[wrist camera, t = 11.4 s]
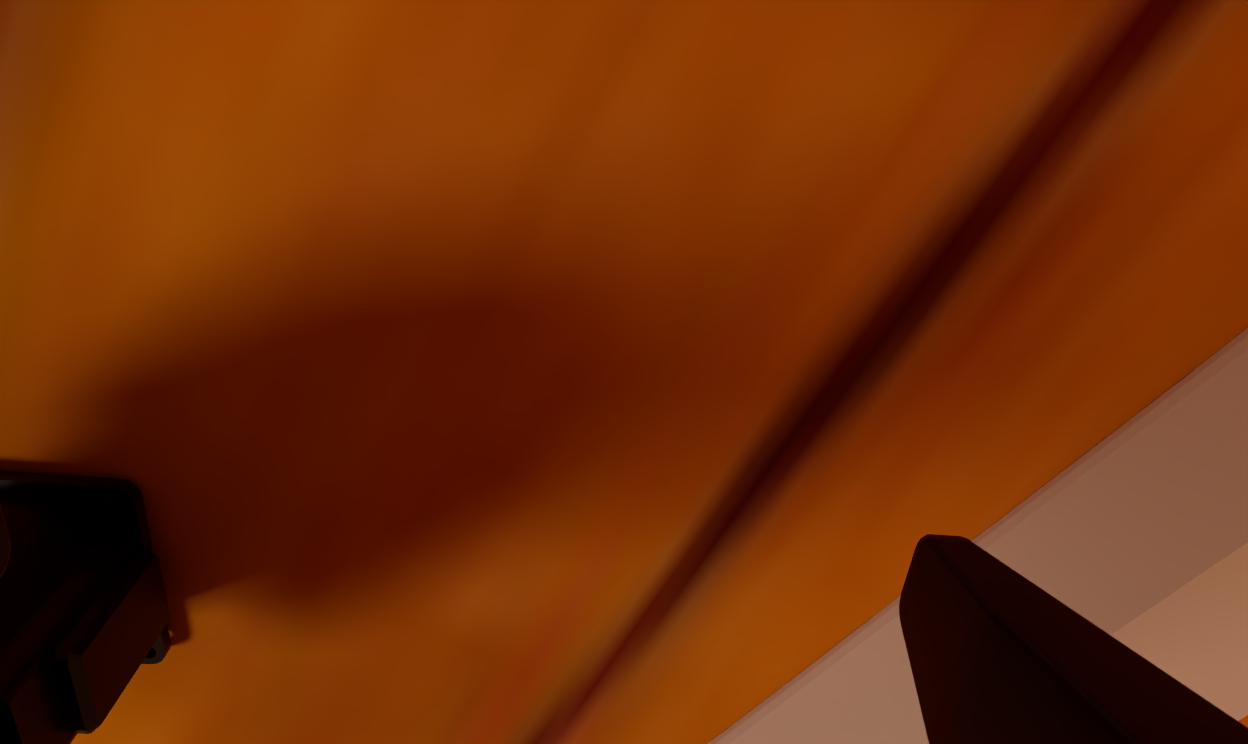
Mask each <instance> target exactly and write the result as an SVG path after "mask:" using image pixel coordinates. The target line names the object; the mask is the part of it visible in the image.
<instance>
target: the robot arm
mask: <svg viewBox="0 0 1248 744" xmlns="http://www.w3.org/2000/svg"><path fill="white" fill-rule="evenodd" d="M115 495H118V496H120V497H122V498H123V499H124V501H121V500H119V499H118V498H116V497H115ZM899 617H900V623H901V627H902V632H903V636H904V640H905V644H906V649H907V653H908V657H909V661H910V666H911V670H912V674H913V678H914V683H915V687H916V691H917V695H918V700H919V704H920V708H921V712H922V717H923V721H924V725H925V729H926V734H927V738H928V742H929V744H1248V728H1247V727H1246V726H1245V725H1243V724H1242V723H1240V722H1239V721H1237V720H1236V719H1234V718H1233V717H1231V716H1230V715H1228V714H1227V713H1225V712H1224V711H1222V710H1221V709H1219V708H1218V707H1216V706H1215V705H1213V704H1212V703H1210V702H1209V701H1207V700H1206V699H1204V698H1203V697H1201V696H1200V695H1198V694H1197V693H1196V692H1194V691H1193V690H1191V689H1190V688H1188V687H1187V686H1185V685H1184V684H1182V683H1181V682H1179V681H1178V680H1176V679H1175V678H1173V677H1172V676H1170V675H1169V674H1167V673H1166V672H1164V671H1163V670H1161V669H1160V668H1158V667H1157V666H1155V665H1154V664H1152V663H1151V662H1150V661H1148V660H1147V659H1145V658H1144V657H1142V656H1141V655H1139V654H1138V653H1136V652H1135V651H1133V650H1132V649H1130V648H1129V647H1127V646H1126V645H1124V644H1123V643H1121V642H1120V641H1118V640H1117V639H1115V638H1114V637H1112V636H1111V635H1109V634H1108V633H1106V632H1105V631H1104V630H1102V629H1101V628H1099V627H1098V626H1096V625H1095V624H1093V623H1092V622H1090V621H1089V620H1087V619H1086V618H1084V617H1083V616H1081V615H1080V614H1078V613H1077V612H1075V611H1074V610H1072V609H1071V608H1069V607H1068V606H1066V605H1065V604H1063V603H1062V602H1060V601H1059V600H1058V599H1056V598H1055V597H1053V596H1052V595H1050V594H1049V593H1047V592H1046V591H1044V590H1043V589H1041V588H1040V587H1038V586H1037V585H1035V584H1034V583H1032V582H1031V581H1029V580H1028V579H1026V578H1025V577H1023V576H1022V575H1020V574H1019V573H1017V572H1016V571H1015V570H1013V569H1012V568H1010V567H1009V566H1007V565H1006V564H1004V563H1003V562H1001V561H1000V560H998V559H997V558H995V557H994V556H992V555H991V554H989V553H988V552H986V551H985V550H983V549H982V548H980V547H979V546H977V545H976V544H975V543H973V542H972V541H970V540H968V539H967V538H964V537H961V536H949V535H933V534H928V535H926V536H924V537H922V538H921V539H920V540H919V542H918V543H917V546H916V548H915V551H914V554H913V557H912V561H911V564H910V567H909V570H908V573H907V577H906V580H905V583H904V586H903V589H902V592H901V596H900V602H899ZM169 619H170V616H169V611H168V606H167V601H166V595H165V590H164V585H163V580H162V575H161V569H160V564H159V559H158V556H157V554H156V553H155V551H154V550H153V549H152V544H151V539H150V534H149V528H148V523H147V518H146V513H145V508H144V503H143V498H142V494H141V492H140V489H139V488H138V487H137V486H136V485H135V484H133V483H131V482H130V481H128V480H123V479H115V478H99V477H84V476H68V475H53V474H37V473H22V472H7V471H0V744H70V743H71V742H72V740H73V739H74V737H75V736H76V735H77V733H84V734H89V733H92V732H93V731H94V730H95V729H96V728H98V727H99V726H100V725H101V724H102V722H103V721H104V719H105V718H106V716H107V715H108V713H109V712H110V710H111V709H112V707H113V706H114V704H115V703H116V701H117V700H118V698H119V697H120V695H121V693H122V692H123V690H124V689H125V687H126V686H127V684H128V683H129V681H130V680H131V678H132V677H133V675H134V674H135V672H136V671H137V669H138V668H139V666H140V665H141V664H156V663H159V662H161V661H162V660H163V658H164V657H165V656H166V654H167V652H168V651H169V649H170V647H171V641H170V636H169V631H168V626H167V623H168V622H169Z"/></svg>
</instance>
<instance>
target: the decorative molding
mask: <svg viewBox="0 0 1248 744" xmlns="http://www.w3.org/2000/svg"><path fill="white" fill-rule="evenodd" d="M972 542H973V543H975V544H976V545H977V546H979V547H980V548H982V549H983V550H985V551H986V552H988V553H989V554H991V555H992V556H994V557H995V558H997V559H998V560H1000V561H1001V562H1003V563H1004V564H1006V565H1007V566H1009V567H1010V568H1012V569H1013V570H1015V571H1016V572H1017V573H1019V574H1020V575H1022V576H1023V577H1025V578H1026V579H1028V580H1029V581H1031V582H1032V583H1034V584H1035V585H1037V586H1038V587H1040V588H1041V589H1043V590H1044V591H1046V592H1047V593H1049V594H1050V595H1052V596H1053V597H1055V598H1056V599H1058V600H1059V601H1060V602H1062V603H1063V604H1065V605H1066V606H1068V607H1069V608H1071V609H1072V610H1074V611H1075V612H1077V613H1078V614H1080V615H1081V616H1083V617H1084V618H1086V619H1087V620H1089V621H1090V622H1092V623H1093V624H1095V625H1096V626H1098V627H1099V628H1101V629H1102V630H1104V631H1105V632H1106V633H1108V634H1109V635H1111V636H1112V637H1114V638H1115V639H1117V640H1118V641H1120V642H1121V643H1123V644H1124V645H1126V646H1127V647H1129V648H1130V649H1132V650H1133V651H1135V652H1136V653H1138V654H1139V655H1141V656H1142V657H1144V658H1145V659H1147V660H1148V661H1150V662H1151V663H1152V664H1154V665H1155V666H1157V667H1158V668H1160V669H1161V670H1163V671H1164V672H1166V673H1167V674H1169V675H1170V676H1172V677H1173V678H1175V679H1176V680H1178V681H1179V682H1181V683H1182V684H1184V685H1185V686H1187V687H1188V688H1190V689H1191V690H1193V691H1194V692H1196V693H1197V694H1198V695H1200V696H1201V697H1203V698H1204V699H1206V700H1207V701H1209V702H1210V703H1212V704H1213V705H1215V706H1216V707H1218V708H1219V709H1221V710H1222V711H1224V712H1225V713H1227V714H1228V715H1230V716H1231V717H1233V718H1234V719H1236V720H1237V721H1239V720H1240V719H1242V718H1243V717H1245V716H1247V715H1248V328H1247V329H1246V330H1244V331H1243V332H1242V333H1241V334H1239V335H1238V336H1237V337H1235V338H1234V339H1233V340H1232V341H1230V342H1229V343H1228V344H1226V345H1225V346H1224V347H1222V348H1221V349H1220V350H1219V351H1217V352H1216V353H1215V354H1213V355H1212V356H1211V357H1210V358H1208V359H1207V360H1206V361H1204V362H1203V363H1202V364H1201V365H1199V366H1198V367H1197V368H1196V369H1194V370H1193V371H1192V372H1191V373H1190V374H1188V375H1187V376H1186V377H1185V378H1183V379H1182V380H1180V381H1179V382H1178V383H1176V384H1175V385H1174V386H1172V387H1171V388H1170V389H1169V390H1167V391H1166V392H1165V393H1163V394H1162V395H1161V396H1159V397H1158V398H1157V399H1156V400H1154V401H1153V402H1152V403H1150V404H1149V405H1148V406H1146V407H1145V408H1144V409H1143V410H1141V411H1140V412H1139V413H1137V414H1136V415H1135V416H1134V417H1132V418H1131V419H1130V420H1128V421H1127V422H1126V423H1124V424H1123V425H1122V426H1121V427H1119V428H1118V429H1117V430H1115V431H1114V432H1113V433H1111V434H1110V435H1109V436H1107V437H1106V438H1105V439H1104V440H1102V441H1101V442H1100V443H1098V444H1097V445H1096V446H1094V447H1093V448H1092V449H1091V450H1089V451H1088V452H1087V453H1085V454H1084V455H1083V456H1081V457H1080V458H1079V459H1078V460H1076V461H1075V462H1074V463H1072V464H1071V465H1070V466H1068V467H1067V468H1066V469H1065V470H1063V471H1062V472H1061V473H1059V474H1058V475H1057V476H1055V477H1054V478H1053V479H1051V480H1050V481H1049V482H1048V483H1046V484H1045V485H1044V486H1042V487H1041V488H1040V489H1038V490H1037V491H1036V492H1035V493H1033V494H1032V495H1031V496H1029V497H1028V498H1027V499H1025V500H1024V501H1023V502H1021V503H1020V504H1019V505H1018V506H1016V507H1015V508H1014V509H1012V510H1011V511H1010V512H1008V513H1007V514H1006V515H1005V516H1003V517H1002V518H1001V519H1000V520H998V521H997V522H996V523H994V524H993V525H991V526H990V527H989V528H987V529H986V530H985V531H983V532H982V533H981V534H980V535H978V536H977V537H976V538H974V539H973V540H972ZM900 596H901V595H900ZM900 596H899V597H897V598H896V599H895V600H894V601H892V602H891V603H890V604H888V605H887V606H886V607H885V608H883V609H882V610H881V611H879V612H878V613H877V614H876V615H874V616H873V617H872V618H871V619H870V620H868V621H867V622H865V623H864V624H863V625H862V626H860V627H859V628H858V629H856V630H855V631H854V632H852V633H851V634H850V635H849V636H847V637H846V638H845V639H843V640H842V641H841V642H839V643H838V644H837V645H836V646H834V647H833V648H832V649H830V650H829V651H828V652H827V653H825V654H824V655H823V656H821V657H820V658H819V659H817V660H816V661H815V662H814V663H812V664H811V665H810V666H808V667H807V668H806V669H804V670H803V671H802V672H801V673H799V674H798V675H797V676H795V677H794V678H793V679H791V680H790V681H789V682H787V683H786V684H785V685H784V686H782V687H781V688H780V689H778V690H777V691H776V692H774V693H773V694H772V695H771V696H769V697H768V698H767V699H765V700H764V701H763V702H761V703H760V704H759V705H758V706H756V707H755V708H754V709H752V710H751V711H750V712H748V713H747V714H746V715H744V716H743V717H742V718H741V719H739V720H738V721H737V722H735V723H734V724H733V725H731V726H730V727H729V728H728V729H726V730H725V731H724V732H722V733H721V734H720V735H718V736H717V737H716V738H714V739H713V740H712V741H710V742H709V743H708V744H929V742H928V738H927V734H926V729H925V725H924V721H923V717H922V712H921V708H920V704H919V700H918V695H917V691H916V687H915V683H914V678H913V674H912V670H911V666H910V661H909V657H908V653H907V649H906V644H905V640H904V636H903V632H902V627H901V623H900V617H899V602H900Z"/></svg>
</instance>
